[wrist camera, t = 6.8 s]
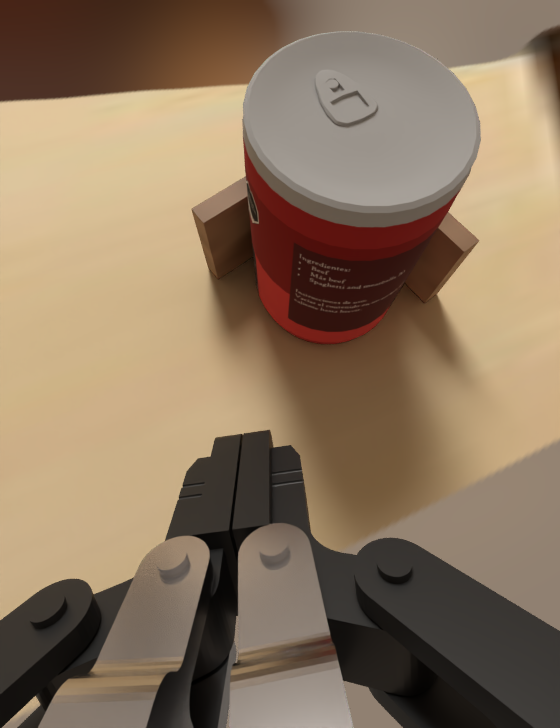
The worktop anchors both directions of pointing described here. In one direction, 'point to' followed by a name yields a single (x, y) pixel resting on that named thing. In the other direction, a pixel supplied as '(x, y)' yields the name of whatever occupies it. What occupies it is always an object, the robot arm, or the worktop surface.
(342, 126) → the canned food
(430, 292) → the v-block stop
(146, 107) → the worktop surface
